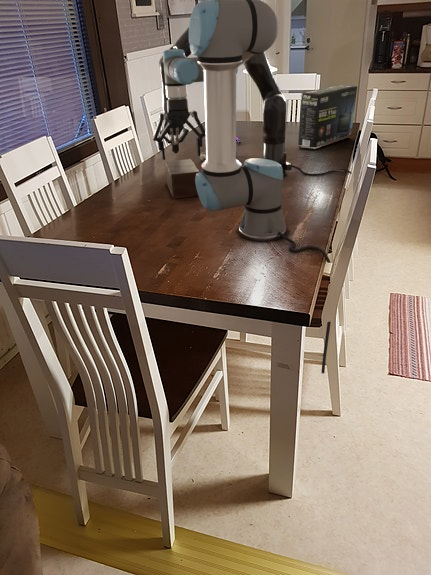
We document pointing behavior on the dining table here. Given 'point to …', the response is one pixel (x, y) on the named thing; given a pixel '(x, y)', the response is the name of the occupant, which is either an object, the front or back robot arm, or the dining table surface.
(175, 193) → the taupe rectangular block
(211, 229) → the dining table surface
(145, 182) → the dining table surface
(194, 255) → the dining table surface
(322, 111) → the router box
